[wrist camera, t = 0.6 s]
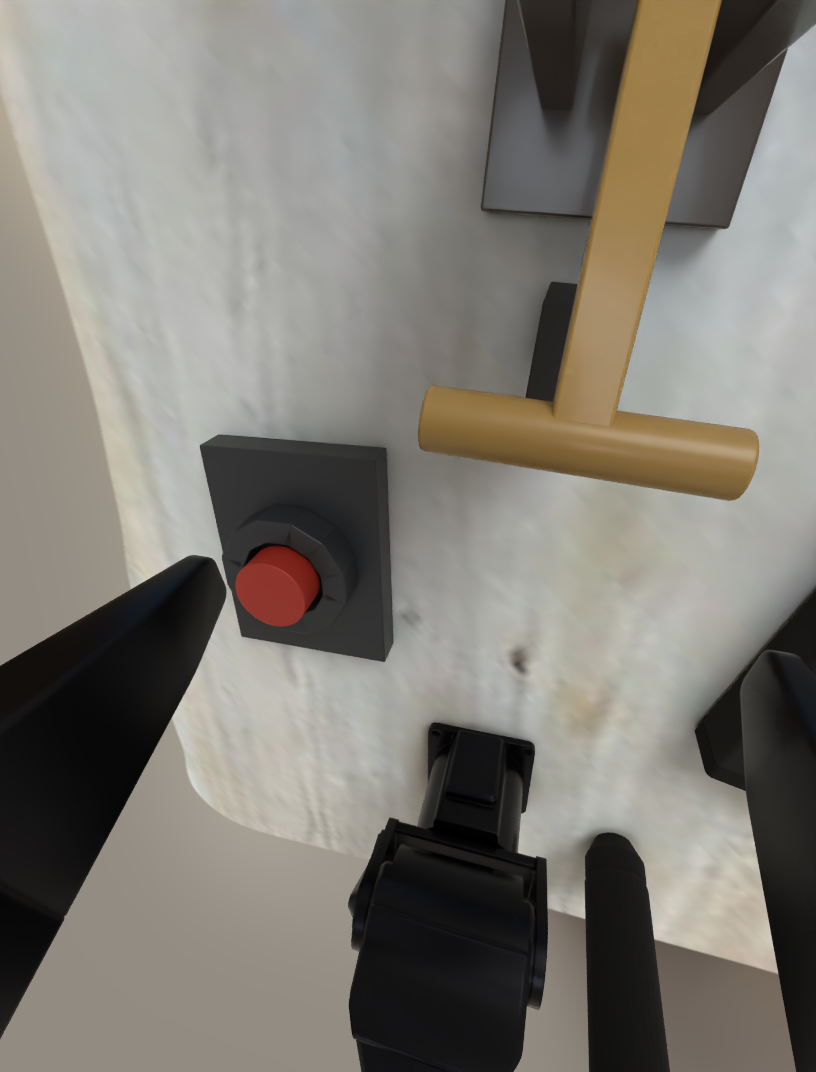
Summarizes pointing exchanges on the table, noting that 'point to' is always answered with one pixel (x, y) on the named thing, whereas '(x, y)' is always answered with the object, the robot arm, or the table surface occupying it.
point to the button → (277, 585)
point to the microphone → (621, 963)
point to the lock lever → (615, 301)
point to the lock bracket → (590, 94)
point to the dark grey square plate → (309, 534)
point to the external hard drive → (721, 731)
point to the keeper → (551, 341)
